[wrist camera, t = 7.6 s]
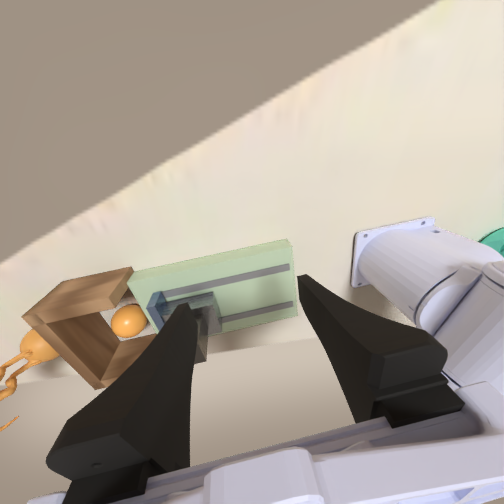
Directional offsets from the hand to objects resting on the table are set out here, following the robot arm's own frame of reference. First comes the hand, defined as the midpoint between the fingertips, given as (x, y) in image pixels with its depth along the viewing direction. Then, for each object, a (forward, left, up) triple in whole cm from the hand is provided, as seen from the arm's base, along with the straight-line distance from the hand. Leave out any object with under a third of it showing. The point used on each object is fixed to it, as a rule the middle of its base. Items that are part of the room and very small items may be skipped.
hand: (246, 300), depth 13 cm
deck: (+3, +6, -10) cm, 12 cm away
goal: (+15, +6, -10) cm, 19 cm away
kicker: (+6, +6, -8) cm, 12 cm away
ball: (+14, +6, -8) cm, 17 cm away
